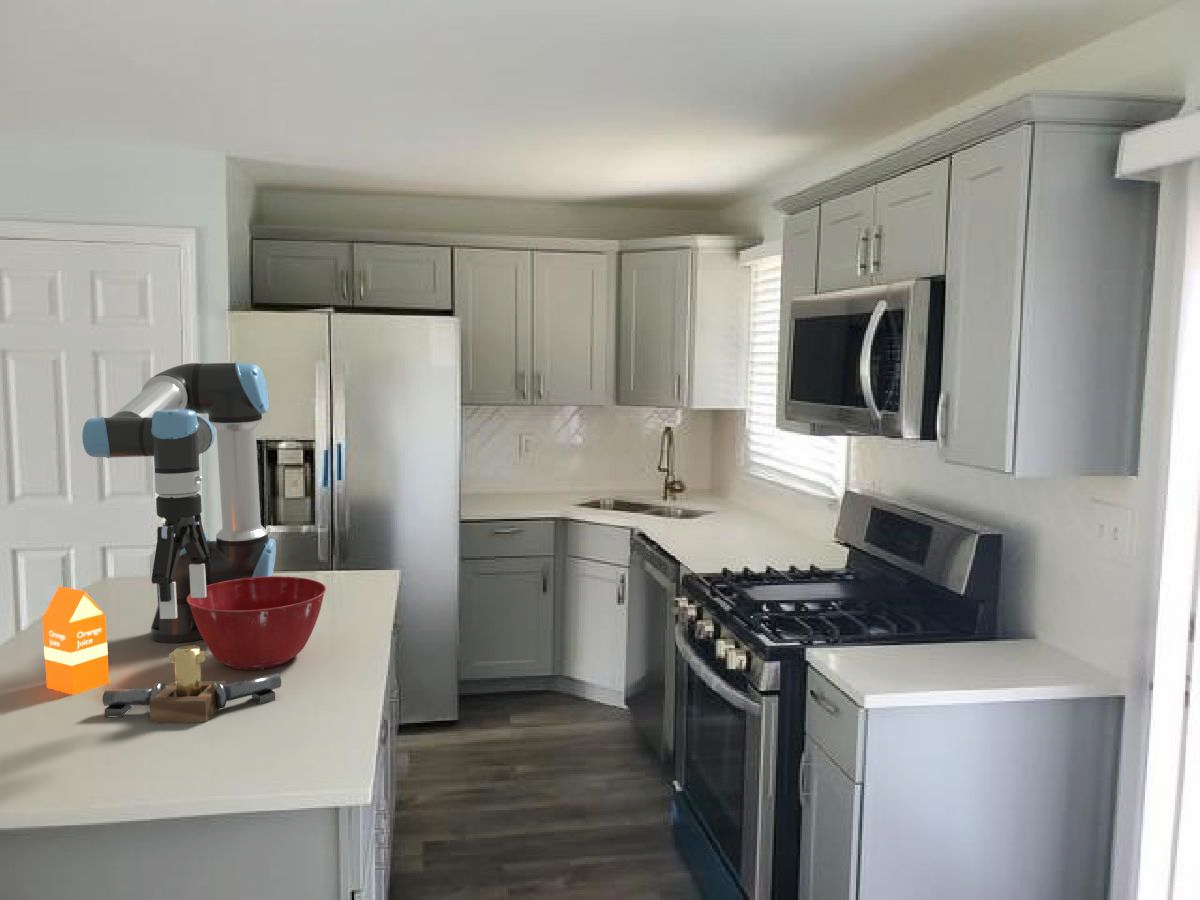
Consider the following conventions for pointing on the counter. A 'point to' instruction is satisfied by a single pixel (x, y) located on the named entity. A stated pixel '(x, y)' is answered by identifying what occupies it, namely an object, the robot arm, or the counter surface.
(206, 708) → the coupling block
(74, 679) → the orange juice
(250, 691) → the shaft
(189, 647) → the joint pin
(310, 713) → the counter surface
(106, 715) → the shaft
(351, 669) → the counter surface
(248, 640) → the mixing bowl
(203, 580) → the robot arm
